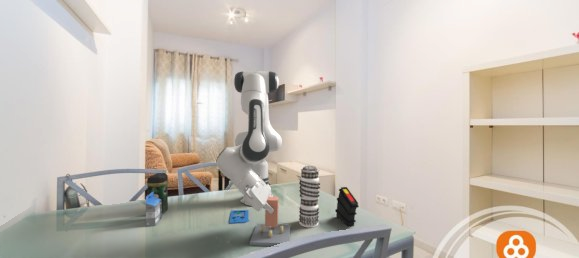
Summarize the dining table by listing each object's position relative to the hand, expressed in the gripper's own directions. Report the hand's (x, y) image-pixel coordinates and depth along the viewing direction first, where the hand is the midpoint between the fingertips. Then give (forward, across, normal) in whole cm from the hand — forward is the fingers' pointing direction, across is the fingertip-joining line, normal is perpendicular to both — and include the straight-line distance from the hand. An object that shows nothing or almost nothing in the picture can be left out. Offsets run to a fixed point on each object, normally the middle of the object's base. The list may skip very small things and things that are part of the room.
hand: (273, 209), depth 94 cm
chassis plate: (+7, 0, +8) cm, 10 cm away
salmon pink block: (+4, 0, +5) cm, 6 cm away
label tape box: (-30, +9, +45) cm, 54 cm away
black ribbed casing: (+30, +16, -15) cm, 37 cm away
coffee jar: (-33, +20, +48) cm, 62 cm away
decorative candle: (+18, +13, -3) cm, 22 cm away
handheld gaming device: (-5, +18, +20) cm, 28 cm away
